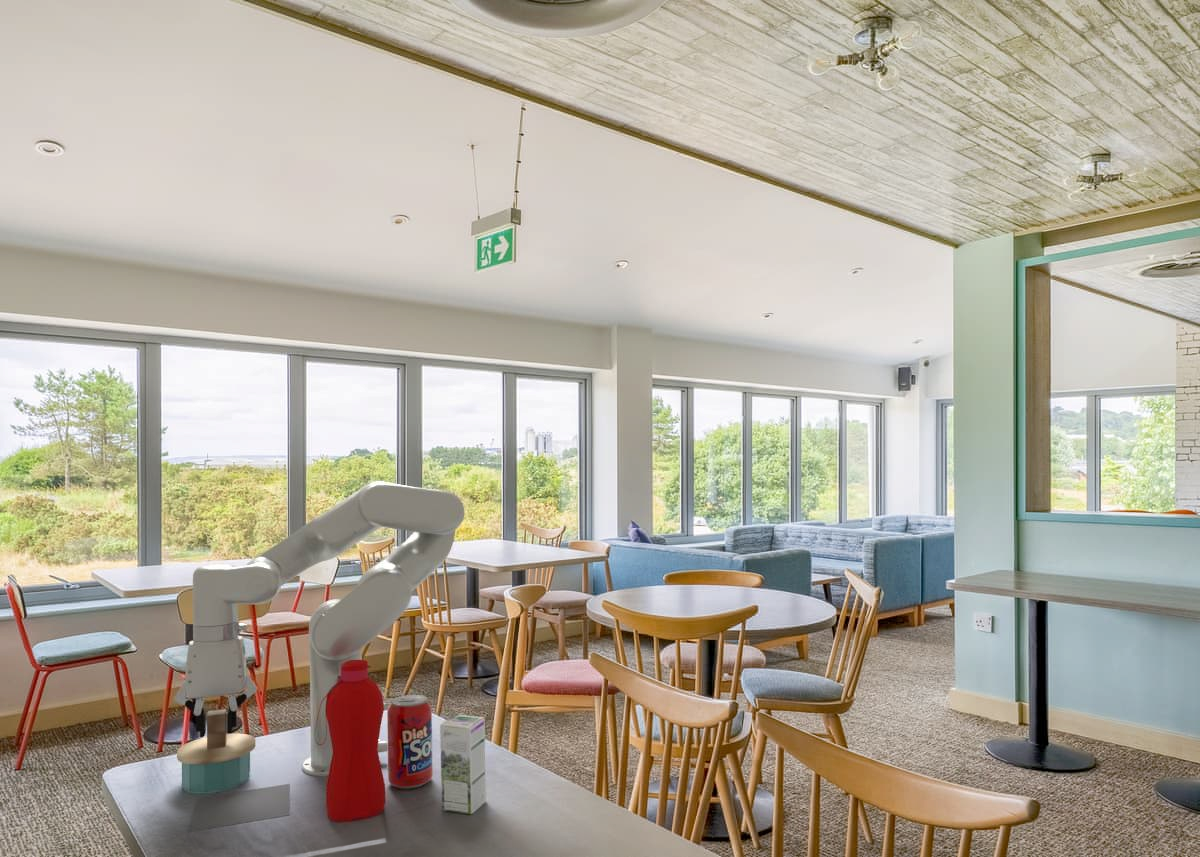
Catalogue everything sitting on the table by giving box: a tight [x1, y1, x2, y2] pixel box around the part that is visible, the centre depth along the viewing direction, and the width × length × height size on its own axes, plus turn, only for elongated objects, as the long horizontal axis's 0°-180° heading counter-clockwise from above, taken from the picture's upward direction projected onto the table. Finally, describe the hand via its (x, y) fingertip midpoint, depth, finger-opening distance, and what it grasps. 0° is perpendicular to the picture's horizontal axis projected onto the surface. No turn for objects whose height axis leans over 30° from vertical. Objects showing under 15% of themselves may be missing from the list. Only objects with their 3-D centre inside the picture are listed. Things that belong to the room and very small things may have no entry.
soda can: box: [386, 694, 434, 790], centre depth 148 cm, size 8×8×15 cm
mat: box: [187, 783, 291, 833], centre depth 138 cm, size 15×14×1 cm
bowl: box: [181, 752, 251, 795], centre depth 150 cm, size 11×11×6 cm
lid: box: [176, 708, 256, 764], centre depth 150 cm, size 13×13×7 cm
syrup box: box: [439, 714, 487, 815], centre depth 138 cm, size 6×6×14 cm
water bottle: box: [315, 659, 386, 823], centre depth 136 cm, size 9×11×25 cm
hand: (216, 732), depth 150 cm, fingers open, 4 cm apart
